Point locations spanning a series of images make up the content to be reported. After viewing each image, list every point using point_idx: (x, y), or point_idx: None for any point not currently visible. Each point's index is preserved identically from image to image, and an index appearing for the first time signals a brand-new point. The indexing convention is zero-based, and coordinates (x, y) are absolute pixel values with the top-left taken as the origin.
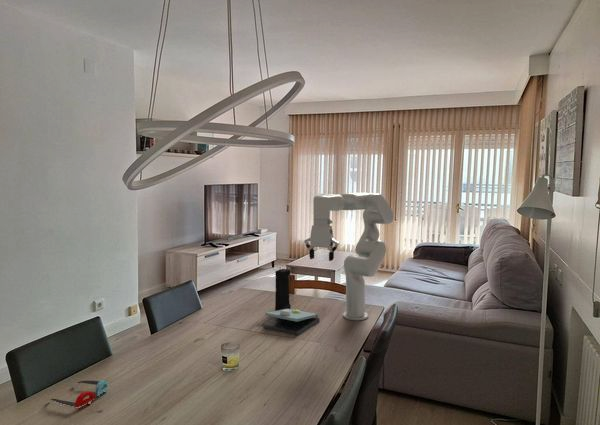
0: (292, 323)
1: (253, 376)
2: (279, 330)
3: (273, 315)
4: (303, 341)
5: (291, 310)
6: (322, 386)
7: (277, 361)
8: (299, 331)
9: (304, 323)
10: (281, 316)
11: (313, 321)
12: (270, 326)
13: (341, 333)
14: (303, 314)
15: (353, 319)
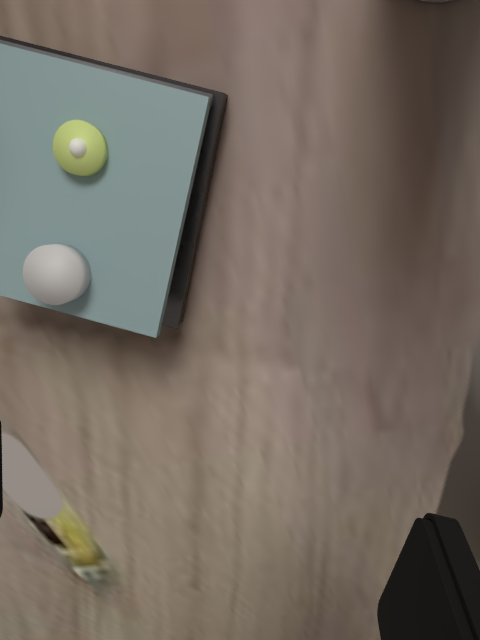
0: None
1: (174, 596)
2: None
3: (13, 297)
4: (228, 369)
5: (33, 95)
6: (369, 620)
7: (199, 522)
8: (182, 307)
9: None
10: (61, 311)
11: (208, 170)
12: None
13: (381, 243)
14: (141, 182)
15: (443, 1)
